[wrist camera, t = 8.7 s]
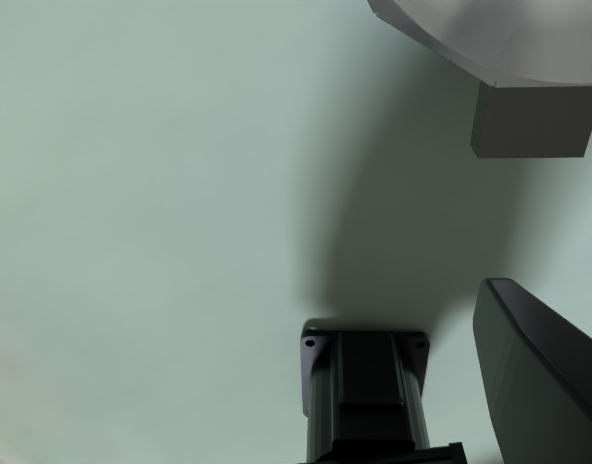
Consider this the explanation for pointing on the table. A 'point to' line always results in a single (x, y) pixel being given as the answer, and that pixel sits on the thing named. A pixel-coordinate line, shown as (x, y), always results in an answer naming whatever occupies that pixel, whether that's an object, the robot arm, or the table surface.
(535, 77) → the lid
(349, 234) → the table surface
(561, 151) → the pot
